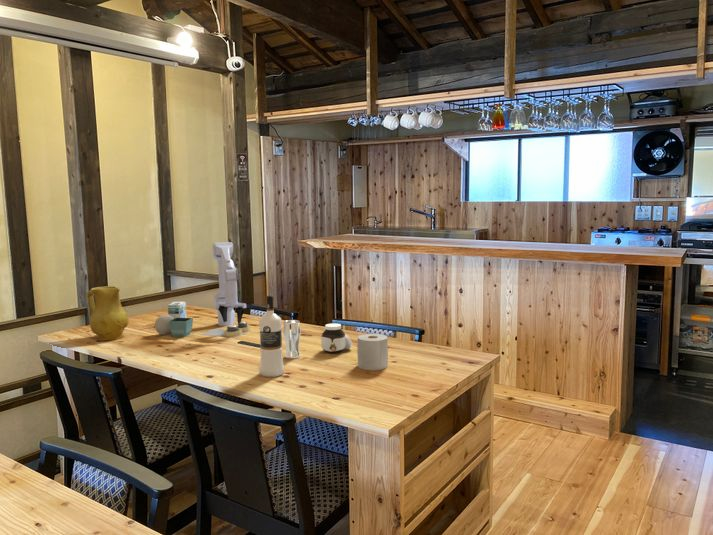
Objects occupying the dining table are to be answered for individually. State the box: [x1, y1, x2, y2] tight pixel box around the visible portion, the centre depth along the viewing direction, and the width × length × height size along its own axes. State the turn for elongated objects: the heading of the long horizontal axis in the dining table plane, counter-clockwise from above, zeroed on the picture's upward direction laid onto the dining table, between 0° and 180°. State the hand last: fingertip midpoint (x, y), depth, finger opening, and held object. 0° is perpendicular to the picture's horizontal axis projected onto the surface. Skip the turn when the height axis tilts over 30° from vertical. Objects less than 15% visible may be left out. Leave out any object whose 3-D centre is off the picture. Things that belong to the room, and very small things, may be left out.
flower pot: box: [169, 317, 194, 338], centre depth 275 cm, size 9×9×9 cm
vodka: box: [258, 295, 285, 378], centre depth 215 cm, size 9×9×30 cm
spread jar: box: [320, 323, 353, 355], centre depth 249 cm, size 12×11×12 cm
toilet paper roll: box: [356, 333, 389, 371], centre depth 226 cm, size 12×12×12 cm
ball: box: [154, 314, 174, 336], centre depth 281 cm, size 10×10×10 cm
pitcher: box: [86, 285, 130, 342], centre depth 277 cm, size 17×19×25 cm
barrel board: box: [200, 321, 251, 338], centre depth 281 cm, size 16×20×5 cm
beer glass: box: [283, 319, 301, 360], centre depth 240 cm, size 7×7×15 cm
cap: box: [226, 324, 238, 332], centre depth 276 cm, size 5×5×4 cm
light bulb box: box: [167, 301, 188, 318], centre depth 309 cm, size 11×7×11 cm, turn 179°
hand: (232, 322), depth 276 cm, fingers open, 7 cm apart
